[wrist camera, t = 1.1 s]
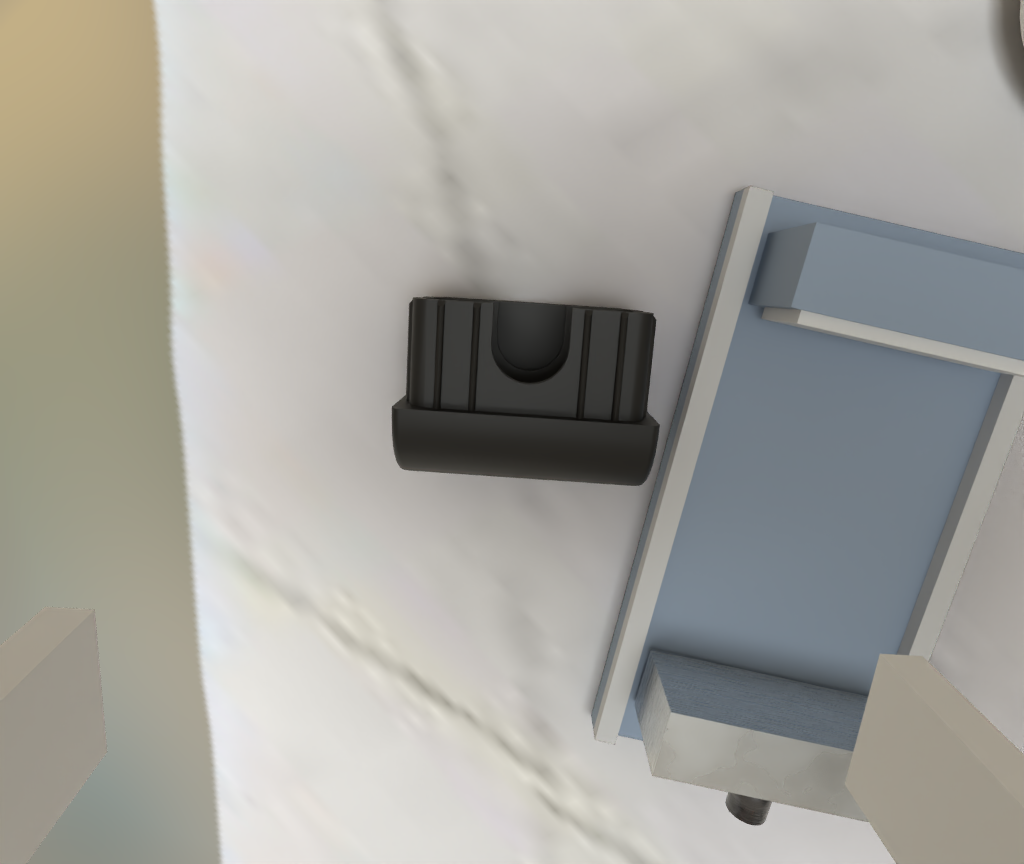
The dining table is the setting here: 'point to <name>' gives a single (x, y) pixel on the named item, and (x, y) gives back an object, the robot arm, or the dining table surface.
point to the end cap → (527, 391)
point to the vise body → (823, 452)
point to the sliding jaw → (749, 735)
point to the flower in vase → (1022, 19)
